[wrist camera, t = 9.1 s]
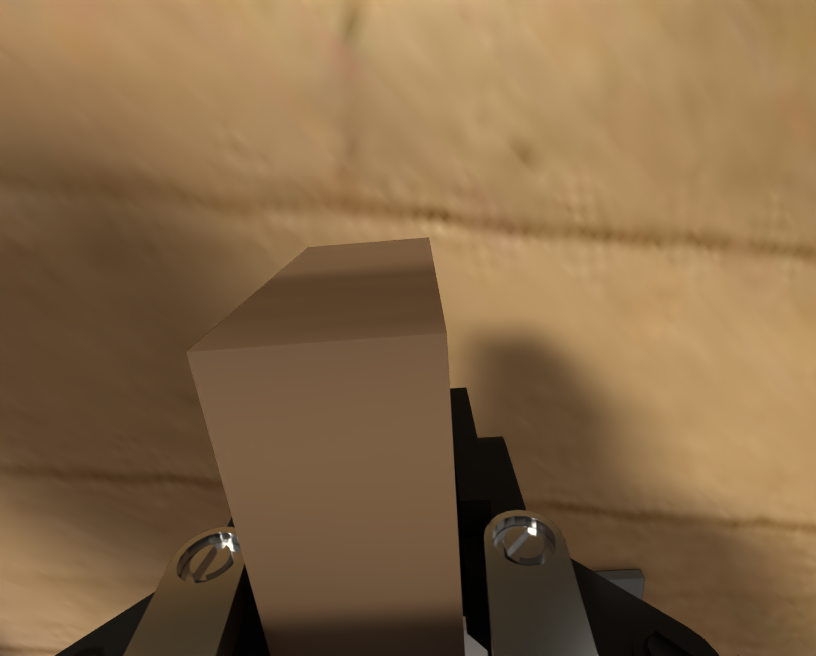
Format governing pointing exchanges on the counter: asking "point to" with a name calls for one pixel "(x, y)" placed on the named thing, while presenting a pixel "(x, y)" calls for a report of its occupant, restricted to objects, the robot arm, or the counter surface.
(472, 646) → the wooden handled spatula
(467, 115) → the counter surface
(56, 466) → the counter surface
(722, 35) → the counter surface
